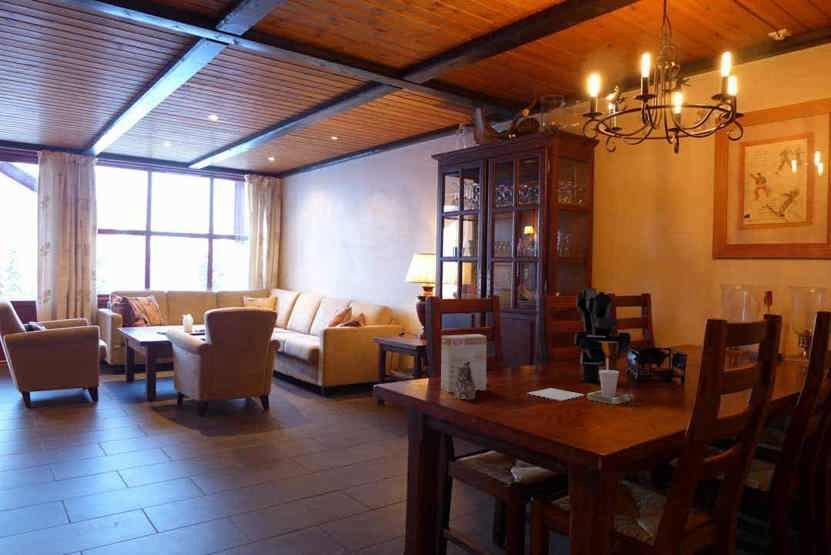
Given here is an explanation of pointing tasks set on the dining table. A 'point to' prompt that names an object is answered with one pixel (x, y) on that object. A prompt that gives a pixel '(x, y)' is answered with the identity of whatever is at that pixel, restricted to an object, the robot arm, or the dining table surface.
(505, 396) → the dining table surface
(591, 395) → the holder
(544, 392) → the mat
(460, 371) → the figurine
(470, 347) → the coffeecake box
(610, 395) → the smoothie
